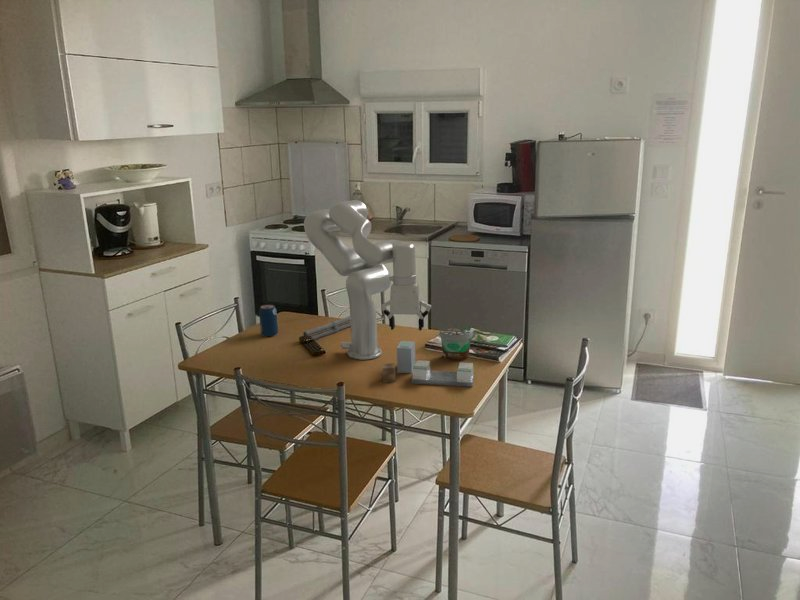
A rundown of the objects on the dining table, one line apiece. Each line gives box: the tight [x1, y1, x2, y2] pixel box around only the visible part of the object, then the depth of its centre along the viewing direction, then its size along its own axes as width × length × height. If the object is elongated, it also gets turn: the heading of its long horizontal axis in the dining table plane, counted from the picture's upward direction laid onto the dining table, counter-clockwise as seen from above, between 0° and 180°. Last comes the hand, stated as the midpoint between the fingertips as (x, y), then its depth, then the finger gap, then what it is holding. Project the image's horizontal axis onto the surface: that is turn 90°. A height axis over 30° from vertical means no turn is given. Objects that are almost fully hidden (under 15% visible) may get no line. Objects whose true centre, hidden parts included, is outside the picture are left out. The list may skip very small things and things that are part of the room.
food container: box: [438, 329, 474, 362], centre depth 234 cm, size 12×6×10 cm, turn 88°
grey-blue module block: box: [396, 340, 416, 374], centre depth 226 cm, size 5×7×9 cm
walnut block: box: [382, 363, 396, 383], centre depth 218 cm, size 4×4×5 cm
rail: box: [410, 360, 476, 388], centre depth 216 cm, size 20×8×5 cm, turn 79°
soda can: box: [258, 304, 279, 337], centre depth 264 cm, size 7×7×12 cm
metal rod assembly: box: [303, 316, 351, 341], centre depth 264 cm, size 26×3×5 cm, turn 140°
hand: (406, 328), depth 223 cm, fingers open, 9 cm apart
